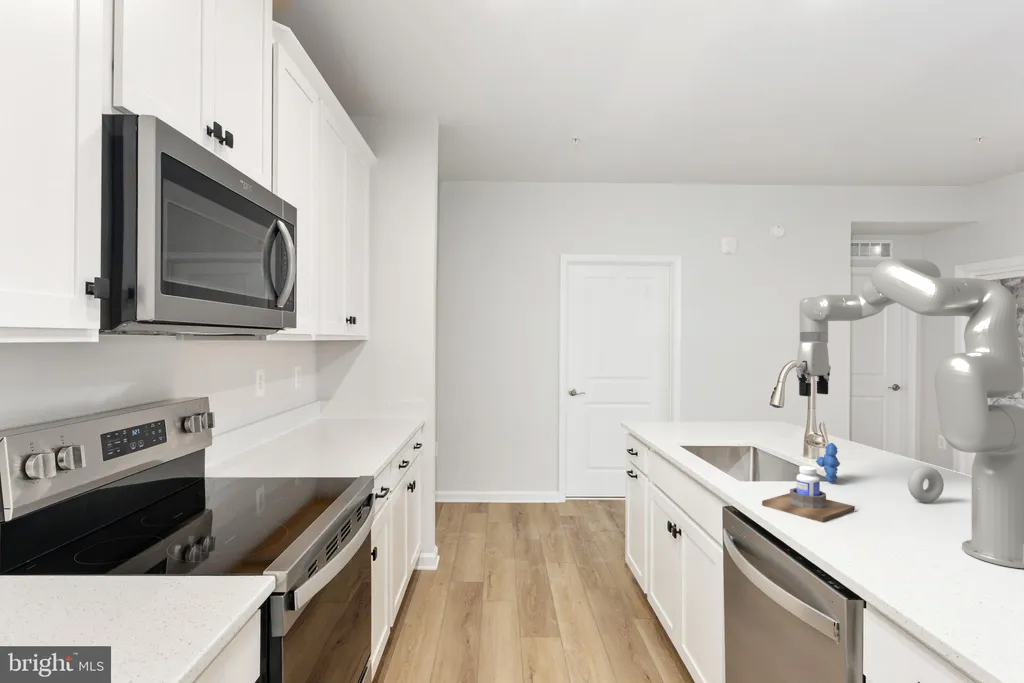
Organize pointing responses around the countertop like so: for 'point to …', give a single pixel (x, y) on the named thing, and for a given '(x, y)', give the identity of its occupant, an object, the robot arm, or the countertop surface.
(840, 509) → the base
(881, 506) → the countertop surface
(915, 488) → the donut
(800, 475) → the pill bottle
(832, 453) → the grapes
